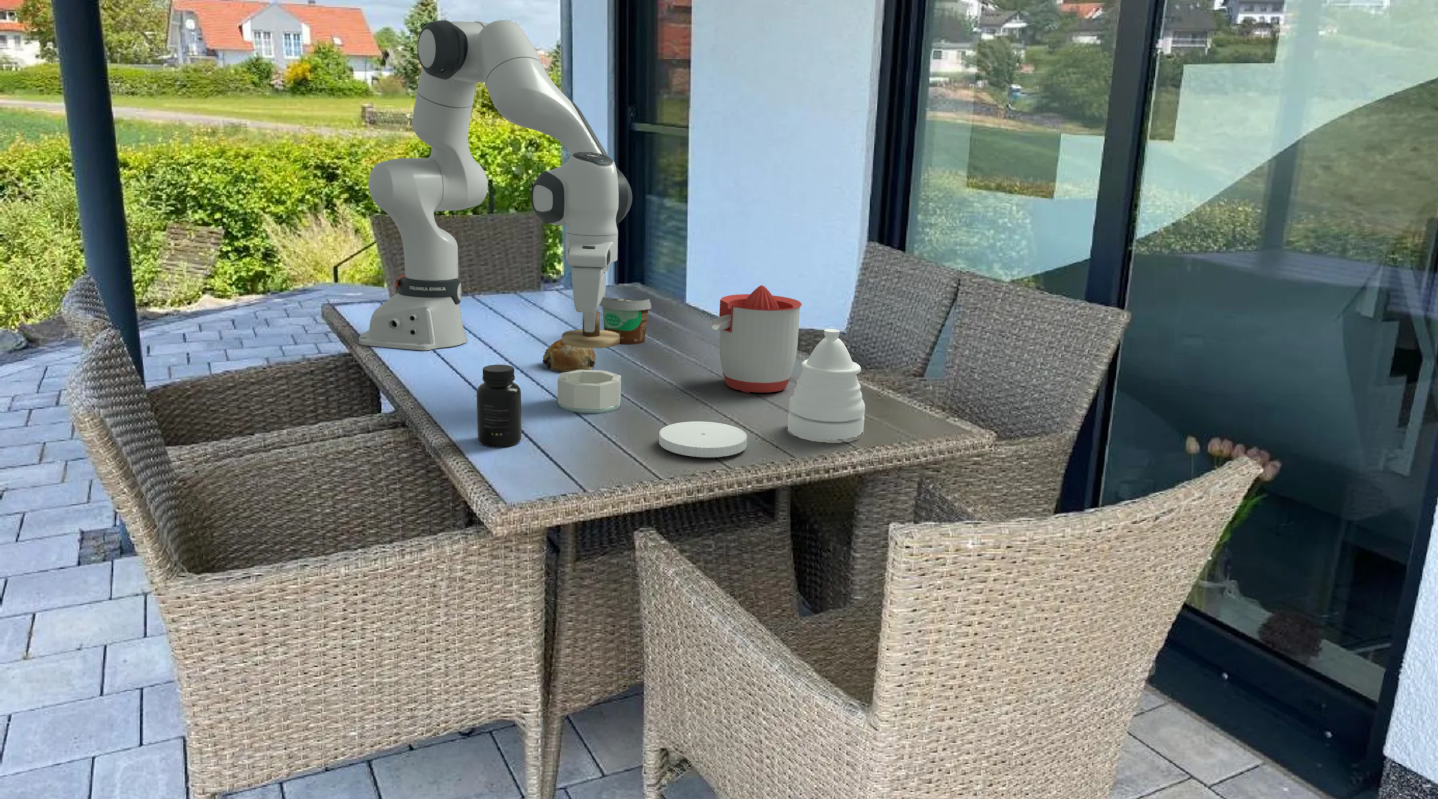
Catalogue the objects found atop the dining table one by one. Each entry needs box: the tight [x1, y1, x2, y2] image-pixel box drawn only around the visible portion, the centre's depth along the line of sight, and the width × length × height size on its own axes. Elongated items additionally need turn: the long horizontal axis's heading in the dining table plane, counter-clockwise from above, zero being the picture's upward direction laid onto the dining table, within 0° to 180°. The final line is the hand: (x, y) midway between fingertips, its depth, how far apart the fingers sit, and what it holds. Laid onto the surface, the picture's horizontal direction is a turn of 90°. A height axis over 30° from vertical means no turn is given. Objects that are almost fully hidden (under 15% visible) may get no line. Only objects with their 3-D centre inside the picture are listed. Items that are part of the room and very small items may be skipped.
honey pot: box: [787, 328, 866, 440], centre depth 181 cm, size 13×13×18 cm
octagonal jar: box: [557, 369, 622, 414], centre depth 192 cm, size 11×11×5 cm
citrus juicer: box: [710, 285, 803, 394], centre depth 207 cm, size 16×17×20 cm
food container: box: [599, 293, 652, 345], centre depth 241 cm, size 12×6×10 cm, turn 68°
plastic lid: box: [658, 420, 748, 458], centre depth 172 cm, size 14×14×2 cm
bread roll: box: [542, 338, 596, 373], centre depth 218 cm, size 10×10×8 cm
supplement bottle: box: [476, 364, 522, 448], centre depth 168 cm, size 7×7×12 cm
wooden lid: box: [561, 311, 620, 349], centre depth 189 cm, size 10×10×5 cm
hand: (590, 328), depth 189 cm, fingers closed on wooden lid, 3 cm apart
